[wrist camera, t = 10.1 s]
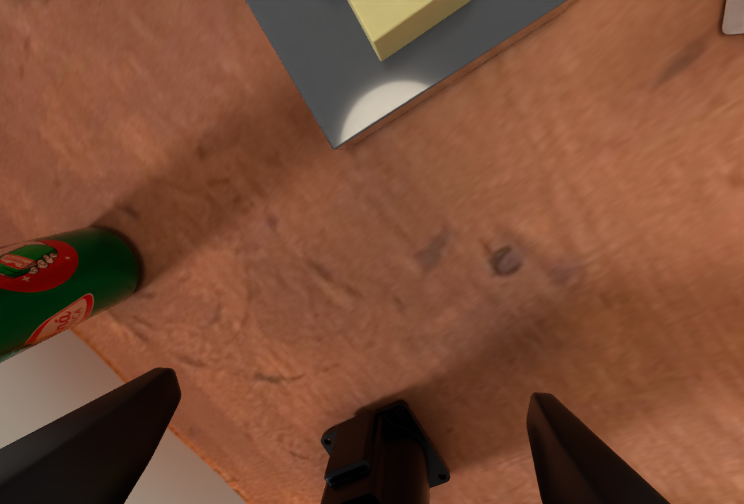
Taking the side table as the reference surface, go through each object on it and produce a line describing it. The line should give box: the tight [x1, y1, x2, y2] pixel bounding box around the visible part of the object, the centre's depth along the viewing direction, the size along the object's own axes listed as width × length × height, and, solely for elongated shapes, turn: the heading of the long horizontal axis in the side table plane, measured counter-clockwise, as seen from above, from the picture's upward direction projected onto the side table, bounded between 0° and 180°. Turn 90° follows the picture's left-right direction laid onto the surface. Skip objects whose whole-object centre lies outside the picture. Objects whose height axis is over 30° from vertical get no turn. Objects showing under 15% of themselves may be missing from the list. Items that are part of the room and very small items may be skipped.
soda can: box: [0, 227, 138, 363], centre depth 18 cm, size 5×5×12 cm
